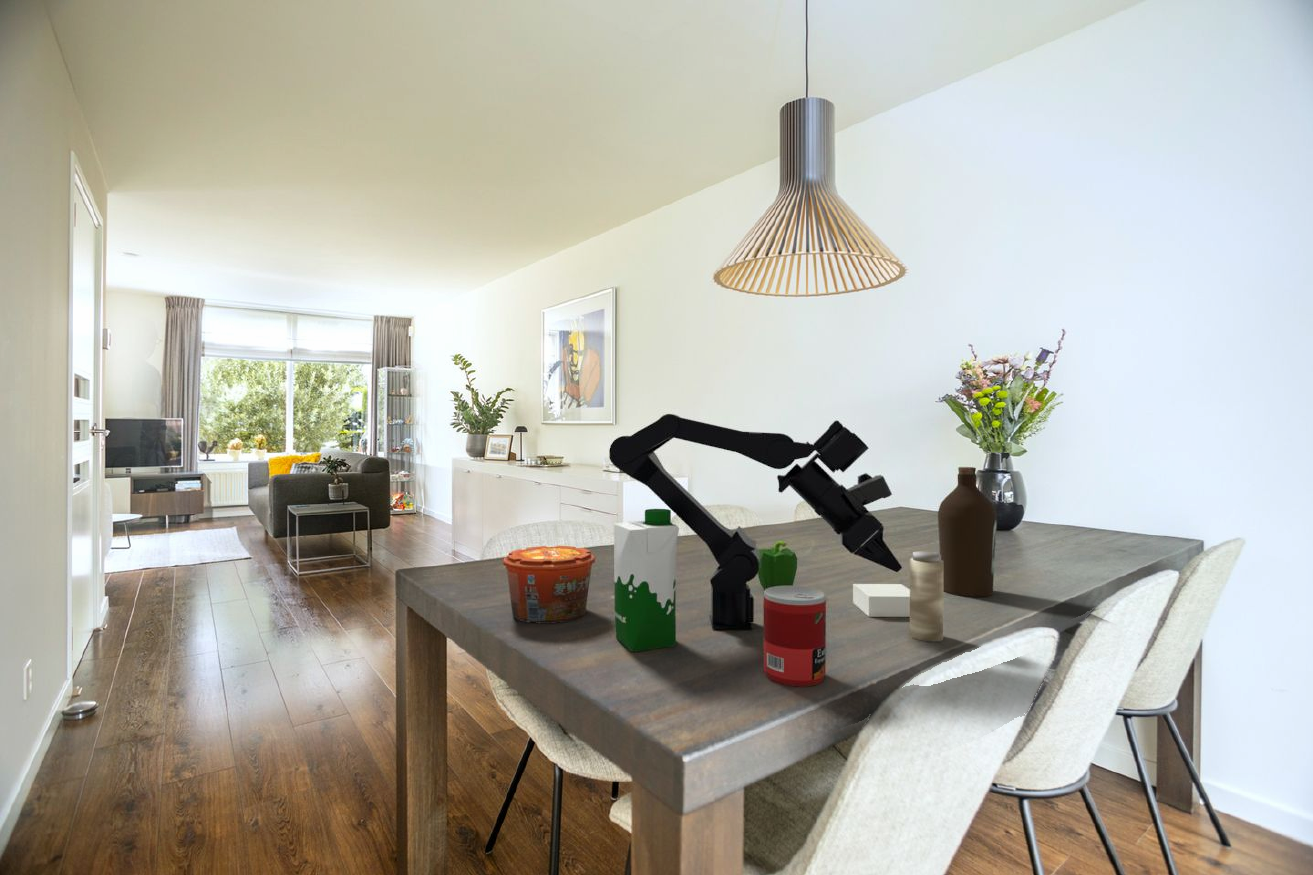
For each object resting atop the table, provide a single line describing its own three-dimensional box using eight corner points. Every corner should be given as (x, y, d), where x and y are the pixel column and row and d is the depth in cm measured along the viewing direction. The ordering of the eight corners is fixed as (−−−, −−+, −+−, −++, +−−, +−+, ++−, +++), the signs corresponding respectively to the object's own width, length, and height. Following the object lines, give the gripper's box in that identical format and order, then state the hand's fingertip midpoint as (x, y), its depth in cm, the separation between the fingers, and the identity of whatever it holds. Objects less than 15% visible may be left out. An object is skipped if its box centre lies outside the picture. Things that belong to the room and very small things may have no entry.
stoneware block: (868, 616, 108) (868, 596, 108) (852, 602, 117) (852, 583, 117) (920, 616, 108) (920, 596, 108) (900, 602, 117) (900, 584, 117)
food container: (612, 615, 109) (612, 554, 109) (527, 633, 99) (527, 566, 99) (567, 596, 121) (567, 541, 121) (488, 610, 112) (488, 551, 112)
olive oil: (945, 596, 121) (945, 468, 121) (931, 583, 131) (932, 465, 131) (1004, 599, 119) (1005, 469, 119) (986, 586, 129) (986, 466, 129)
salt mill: (916, 641, 95) (917, 556, 95) (904, 631, 100) (905, 550, 100) (948, 641, 95) (949, 556, 95) (934, 631, 100) (935, 550, 100)
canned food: (827, 690, 77) (827, 601, 77) (762, 684, 79) (762, 598, 79) (823, 667, 85) (823, 586, 85) (764, 662, 86) (764, 583, 86)
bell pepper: (751, 584, 131) (751, 536, 131) (789, 583, 132) (789, 536, 132) (762, 594, 123) (762, 543, 123) (802, 593, 124) (802, 543, 124)
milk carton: (684, 646, 93) (684, 512, 92) (627, 655, 89) (627, 516, 89) (660, 629, 101) (660, 506, 101) (607, 637, 97) (607, 509, 97)
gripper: (866, 460, 90) (948, 538, 88) (853, 455, 108) (920, 520, 106) (810, 513, 92) (889, 591, 90) (806, 500, 110) (872, 564, 108)
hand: (894, 563), depth 98 cm, fingers open, 9 cm apart
